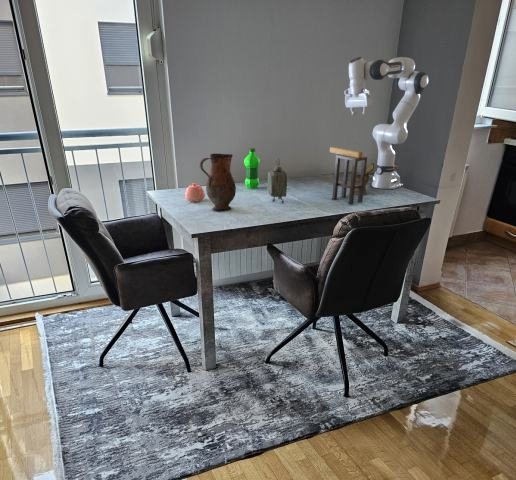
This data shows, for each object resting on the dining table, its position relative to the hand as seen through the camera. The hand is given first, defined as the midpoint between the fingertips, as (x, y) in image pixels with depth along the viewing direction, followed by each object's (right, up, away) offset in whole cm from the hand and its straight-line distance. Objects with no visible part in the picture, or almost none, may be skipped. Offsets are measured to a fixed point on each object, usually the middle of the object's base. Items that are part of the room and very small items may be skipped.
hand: (358, 115), depth 283 cm
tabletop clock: (-50, -51, +5) cm, 71 cm away
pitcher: (-84, -61, -11) cm, 104 cm away
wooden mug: (+7, -39, +24) cm, 47 cm away
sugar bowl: (-100, -50, +7) cm, 112 cm away
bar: (-9, -25, -2) cm, 27 cm away
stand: (-6, -49, +8) cm, 50 cm away
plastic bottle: (-65, -32, +36) cm, 81 cm away
